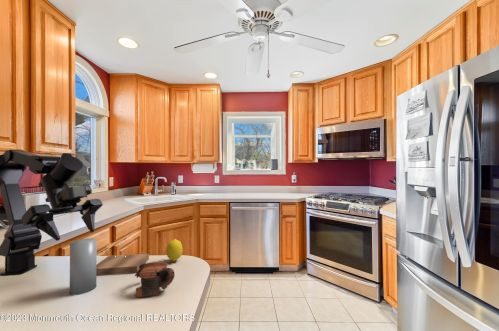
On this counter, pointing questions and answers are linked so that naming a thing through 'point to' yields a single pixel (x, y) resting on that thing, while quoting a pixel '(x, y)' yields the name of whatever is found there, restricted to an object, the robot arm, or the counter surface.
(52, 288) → the counter surface
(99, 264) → the shelf board
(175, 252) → the lemon
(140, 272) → the pottery mug
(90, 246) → the grey cylinder
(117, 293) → the counter surface
